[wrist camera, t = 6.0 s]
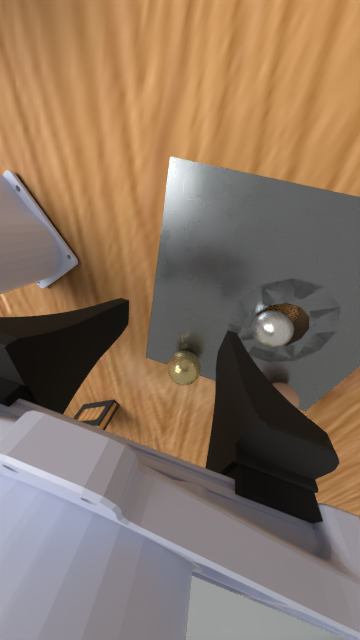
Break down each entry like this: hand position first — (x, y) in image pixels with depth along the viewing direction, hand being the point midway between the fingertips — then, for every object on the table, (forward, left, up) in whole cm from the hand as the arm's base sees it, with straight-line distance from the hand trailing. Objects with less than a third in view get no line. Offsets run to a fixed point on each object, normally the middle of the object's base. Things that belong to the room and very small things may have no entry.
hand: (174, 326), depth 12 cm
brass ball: (+6, -3, -3) cm, 8 cm away
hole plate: (+4, +5, -7) cm, 10 cm away
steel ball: (+5, +6, -4) cm, 9 cm away
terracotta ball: (+13, +5, -3) cm, 14 cm away
